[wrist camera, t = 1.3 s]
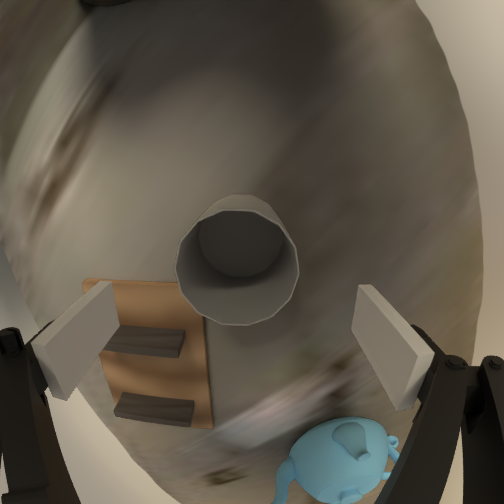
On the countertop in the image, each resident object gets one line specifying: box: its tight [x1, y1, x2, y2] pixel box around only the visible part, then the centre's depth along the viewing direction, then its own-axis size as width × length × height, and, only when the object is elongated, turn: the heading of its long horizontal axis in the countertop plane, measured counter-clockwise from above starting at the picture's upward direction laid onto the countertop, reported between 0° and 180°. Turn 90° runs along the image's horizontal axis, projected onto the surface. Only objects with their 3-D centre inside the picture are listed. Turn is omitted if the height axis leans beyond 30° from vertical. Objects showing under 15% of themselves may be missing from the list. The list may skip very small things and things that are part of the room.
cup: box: [174, 194, 300, 326], centre depth 24 cm, size 8×8×10 cm
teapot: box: [272, 416, 400, 504], centre depth 33 cm, size 17×19×12 cm
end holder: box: [82, 279, 214, 429], centre depth 31 cm, size 22×14×5 cm, turn 179°
